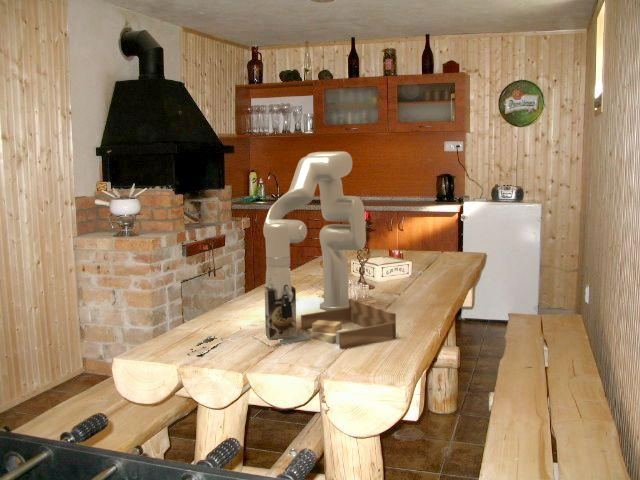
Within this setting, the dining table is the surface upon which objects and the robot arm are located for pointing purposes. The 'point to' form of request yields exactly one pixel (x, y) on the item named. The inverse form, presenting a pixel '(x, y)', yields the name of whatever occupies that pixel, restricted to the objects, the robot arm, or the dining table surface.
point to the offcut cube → (338, 335)
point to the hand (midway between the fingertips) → (280, 314)
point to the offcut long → (322, 336)
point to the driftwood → (206, 341)
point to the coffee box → (279, 317)
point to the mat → (294, 339)
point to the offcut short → (326, 326)
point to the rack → (370, 317)
